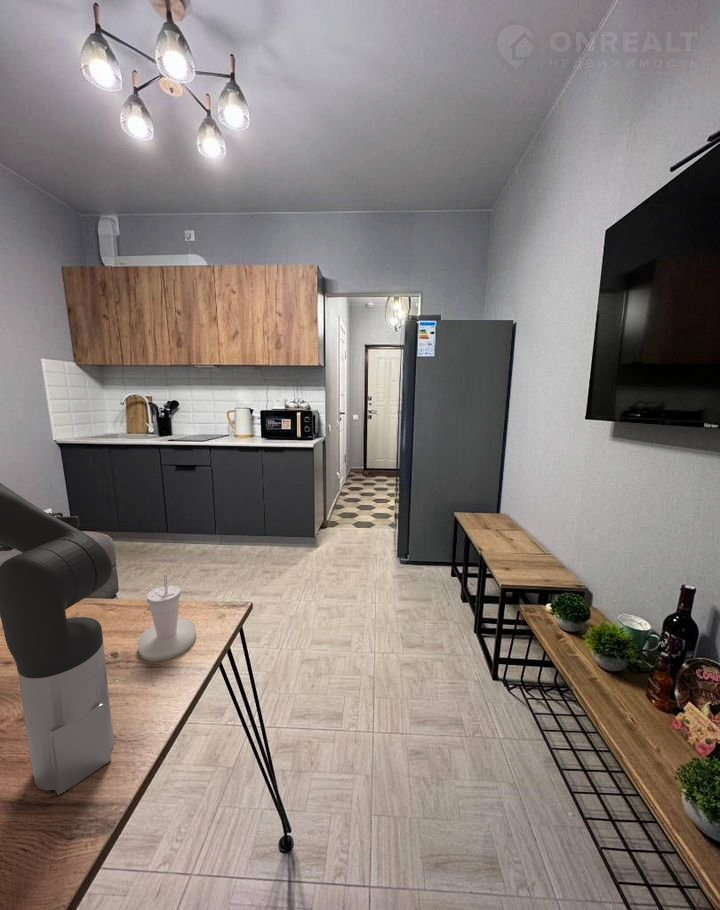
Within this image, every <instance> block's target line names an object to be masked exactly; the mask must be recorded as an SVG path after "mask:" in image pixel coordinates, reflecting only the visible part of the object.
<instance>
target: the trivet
mask: <svg viewBox="0 0 720 910" xmlns="http://www.w3.org/2000/svg"><path fill="white" fill-rule="evenodd" d="M196 630H197V628H196V625H195V623H194V622H193V621H192V620H190V619H186V618H178V620H177V632H176V634H175V635H174V636H173V637H171V638H169V639H166V640H160V639H158V638H157V634H156V630H155V626H154V625H152V626H150V627H148V628H147V629H145V631H144V632H142V633H141V635H140V636H139V638H138V639H137V649H138V655H139V657H140V658H141V659H143V660H145V661H149V662H160V661H166V660H169V659H173V658H175V657H178V656H179V655H181V654H183V653H184V652H186V651H188V650H189V649H190V648H191V647H192V646H193V644H194V643H195V642H196V640H197V639H196V638H197V631H196Z"/></svg>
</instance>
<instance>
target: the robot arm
mask: <svg viewBox="0 0 720 910" xmlns="http://www.w3.org/2000/svg"><path fill="white" fill-rule="evenodd" d="M63 514H64V513H63V512H49V513H48V512H47V511H45V510H43V509H41V508H40V507H38V506H36V505H35V504H33V503H32V502H30V501H28V500H27V499H26V498H24V497H22V496H21V495H19V494H18V493H17V492H15V491H13V490H12V489H11V488H9V487H7V486H6V485H4V484H3V483H2V482H0V552H11V551H13V550H17V551H18V552H20V553H19V554H17V555H14V556H13V557H9V558H8V559H6V560H5V561H3V562H2V563H1V564H0V621H1V625H2V630H3V634H4V638H5V643H6V646H7V649H8V651H9V653H10V655H11V656H12V658H13V660H14V663H15V664H16V670H17V676H18V681H19V689H20V695H21V701H22V702H21V703H22V710H23V717H24V723H25V728H26V729H25V730H26V736H27V737H26V738H27V742H28V743H27V744H28V749H29V750H28V751H29V756H30V761H31V769H32V775H33V781H34V784H35V786H36V787H37V788H39V789H40V790H43V791H50V790H55V791H54V792H56V795H57V794H61V793H62V794H64V793H65V792H67V791H68V790H70V789H71V788H73V787H74V786H75V785H77V784H79V783H80V782H81V781H83V780H84V779H86V778H87V777H89V776H91V775H92V774H93V773H95V772H96V771H97V770H99V769H101V768H102V767H103V766H105V765H107V764H108V763H109V762H111V760H112V756H111V754H112V753H111V752H112V749H113V747H114V742H115V738H114V732H113V731H114V730H113V722H112V721H113V719H112V714H111V713H112V711H111V704H110V703H111V701H110V693H109V683H108V673H107V666H106V665H107V664H106V654H105V646H104V636H103V629H102V625H101V623H100V622H99V621H98V620H97V619H95V618H91V617H87V616H78V617H77V616H76V617H67V613H66V610H68V609H70V608H71V607H72V606H74V605H76V604H77V603H79V602H80V601H83V600H84V599H85V598H87V597H89V596H91V595H92V594H94V593H95V592H96V591H98V590H100V589H101V588H102V587H104V586H105V585H106V583H108V582H109V580H110V578H111V576H112V573H113V564H112V560H111V558H110V556H109V554H108V552H107V550H106V549H105V548H104V547H103V546H102V545H101V544H100V543H99V542H98V541H96V540H95V539H94V538H93V537H91V536H90V535H88V534H86V533H85V532H84V531H81V530H79V529H78V527H80V526H81V525H80V524H81V522H80V517H79V516H78V515H75V516H74V515H73V516H72V515H71V516H64V515H63ZM66 790H67V791H66ZM63 792H64V793H63ZM62 794H61V795H62Z"/></svg>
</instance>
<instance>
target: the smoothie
mask: <svg viewBox="0 0 720 910" xmlns="http://www.w3.org/2000/svg"><path fill="white" fill-rule="evenodd" d="M163 582H164V583H163V584H164V585H163V586H160V587H157V588H154V589H153V590H151V591H150V592H148V594H146V602H147V604H148V605H149V608H150V612H151V616H152V620H153V626H155V630H156V634H157V638H158V639H160V640H166V639H169V638H171V637H173V636H174V635H175V634H176V632H177V620H178V619H179V605H180V604H179V603H180V597H181V595H182V590H181V588H180V587H179V586H177V585H171V584H169V585H168V575H167V573H166V572H165V573H163Z"/></svg>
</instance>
